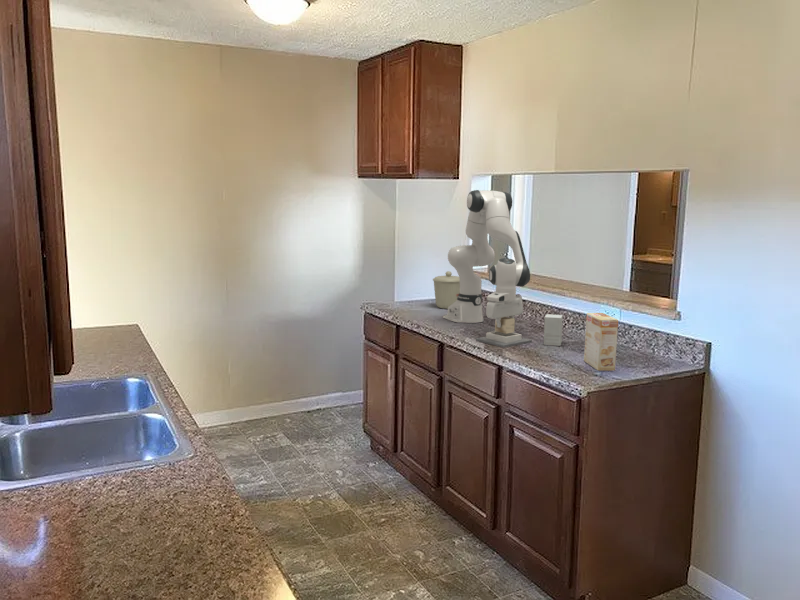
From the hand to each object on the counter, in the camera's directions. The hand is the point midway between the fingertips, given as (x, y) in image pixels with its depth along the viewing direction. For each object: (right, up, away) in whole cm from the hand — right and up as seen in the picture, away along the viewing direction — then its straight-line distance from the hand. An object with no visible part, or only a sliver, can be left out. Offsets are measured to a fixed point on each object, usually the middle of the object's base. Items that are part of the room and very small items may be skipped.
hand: (504, 326), depth 293 cm
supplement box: (+21, -8, -3) cm, 22 cm away
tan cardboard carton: (0, -2, 0) cm, 2 cm away
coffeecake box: (+30, -14, -39) cm, 51 cm away
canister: (-19, +7, +87) cm, 89 cm away
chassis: (0, -7, +1) cm, 7 cm away
